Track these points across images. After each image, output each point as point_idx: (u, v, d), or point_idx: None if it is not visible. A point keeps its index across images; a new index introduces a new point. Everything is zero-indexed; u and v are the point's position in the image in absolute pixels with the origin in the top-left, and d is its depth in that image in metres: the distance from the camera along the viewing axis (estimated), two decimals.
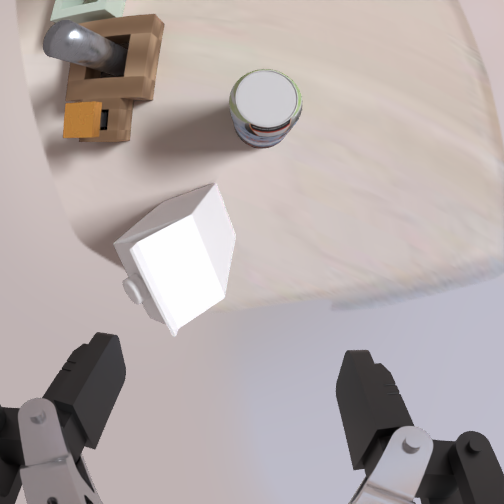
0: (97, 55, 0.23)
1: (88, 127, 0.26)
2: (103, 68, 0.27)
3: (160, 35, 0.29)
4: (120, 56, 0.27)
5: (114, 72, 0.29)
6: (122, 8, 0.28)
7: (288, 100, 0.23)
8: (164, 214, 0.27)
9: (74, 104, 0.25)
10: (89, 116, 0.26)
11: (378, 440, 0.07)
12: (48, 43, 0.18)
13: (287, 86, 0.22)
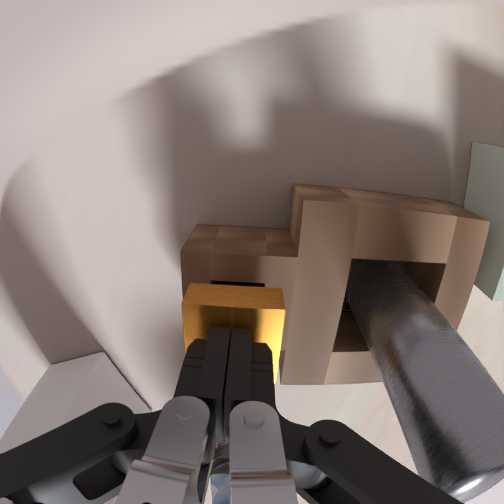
0: None
1: None
2: (364, 333, 0.13)
3: None
4: None
5: (348, 300, 0.16)
6: None
7: None
8: None
9: (276, 336, 0.11)
10: None
11: None
12: (497, 462, 0.05)
13: None
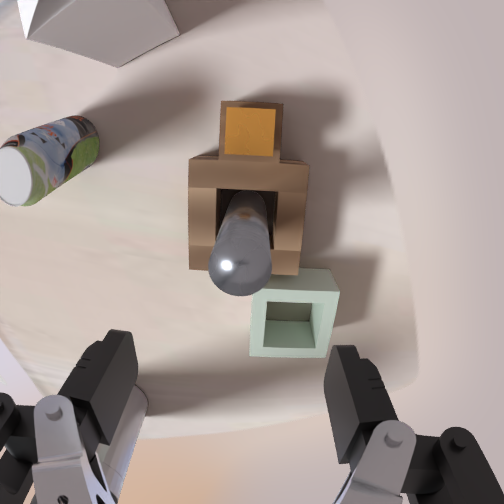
0: (222, 224, 0.22)
1: (232, 120, 0.22)
2: (240, 203, 0.26)
3: None
4: None
5: (241, 195, 0.28)
6: None
7: None
8: (101, 22, 0.15)
9: (257, 153, 0.23)
10: (231, 135, 0.22)
11: (361, 434, 0.07)
12: (259, 263, 0.18)
13: (1, 192, 0.19)
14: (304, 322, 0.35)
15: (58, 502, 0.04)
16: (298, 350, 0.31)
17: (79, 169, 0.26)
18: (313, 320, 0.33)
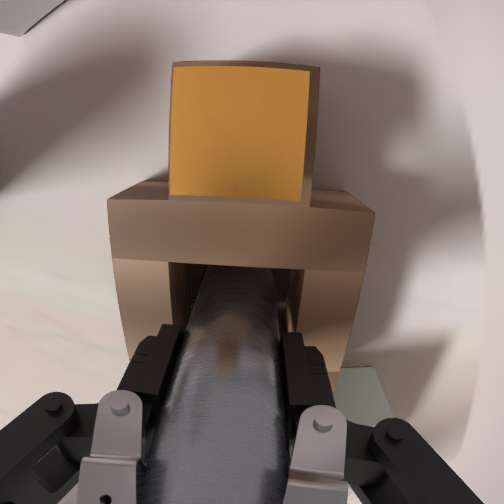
0: (168, 388, 0.08)
1: (189, 101, 0.08)
2: (218, 303, 0.11)
3: None
4: None
5: (226, 267, 0.14)
6: None
7: None
8: None
9: (258, 191, 0.09)
10: (186, 142, 0.08)
11: (295, 417, 0.08)
12: None
13: None
14: None
15: (100, 500, 0.04)
16: None
17: None
18: None
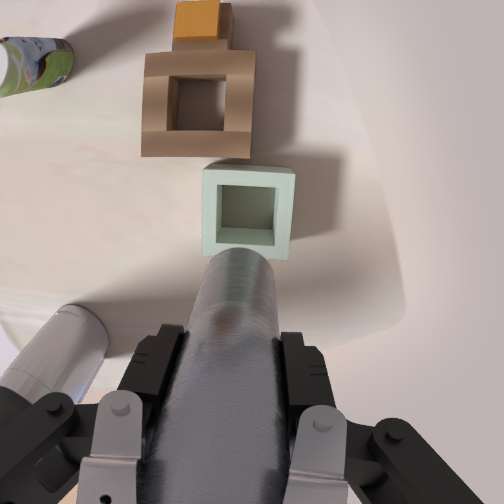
0: (169, 388, 0.08)
1: (181, 11, 0.20)
2: (218, 302, 0.11)
3: None
4: None
5: (226, 267, 0.14)
6: None
7: None
8: None
9: (202, 34, 0.21)
10: (180, 22, 0.21)
11: (295, 417, 0.08)
12: None
13: None
14: (267, 229, 0.34)
15: (100, 500, 0.04)
16: (255, 249, 0.29)
17: (52, 76, 0.24)
18: (274, 221, 0.32)
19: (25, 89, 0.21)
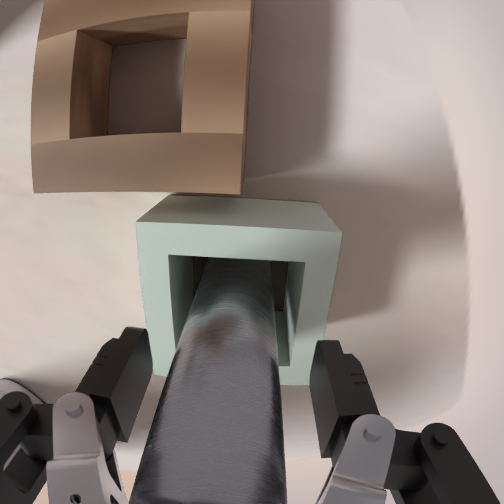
0: (175, 355, 0.09)
1: None
2: (220, 284, 0.12)
3: None
4: None
5: None
6: None
7: None
8: None
9: None
10: None
11: (341, 427, 0.07)
12: None
13: None
14: None
15: (71, 501, 0.04)
16: None
17: None
18: (288, 307, 0.17)
19: None
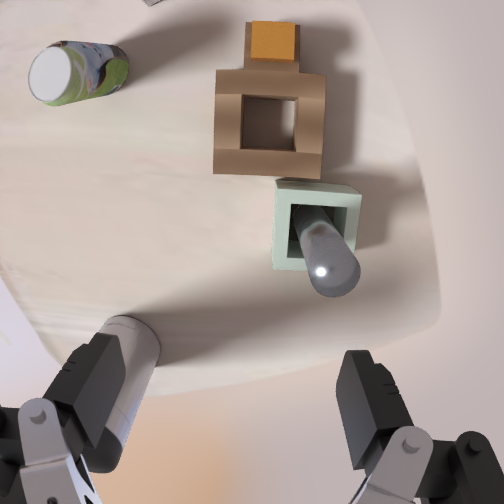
0: (306, 236, 0.26)
1: (257, 30, 0.22)
2: (313, 216, 0.29)
3: None
4: (296, 226, 0.31)
5: (309, 208, 0.32)
6: None
7: (34, 79, 0.19)
8: None
9: (280, 56, 0.23)
10: (256, 42, 0.22)
11: (378, 440, 0.07)
12: (351, 270, 0.21)
13: (36, 91, 0.19)
14: None
15: None
16: None
17: (110, 85, 0.26)
18: None
19: (83, 98, 0.23)
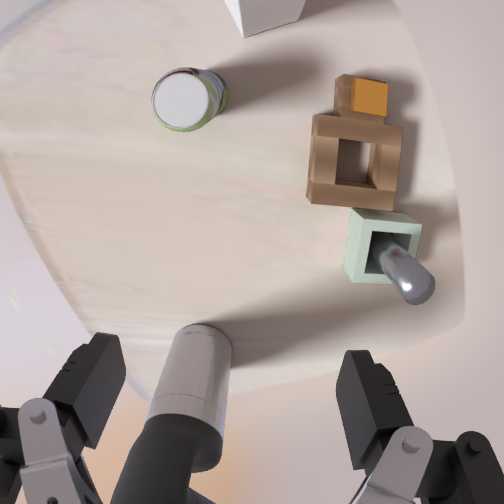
0: (389, 258, 0.32)
1: (360, 87, 0.28)
2: (387, 241, 0.35)
3: (308, 183, 0.37)
4: (372, 248, 0.37)
5: (379, 232, 0.38)
6: (350, 222, 0.39)
7: (161, 102, 0.24)
8: None
9: (376, 112, 0.29)
10: (359, 98, 0.28)
11: (377, 441, 0.07)
12: (429, 285, 0.27)
13: (163, 115, 0.25)
14: None
15: None
16: None
17: None
18: None
19: None
